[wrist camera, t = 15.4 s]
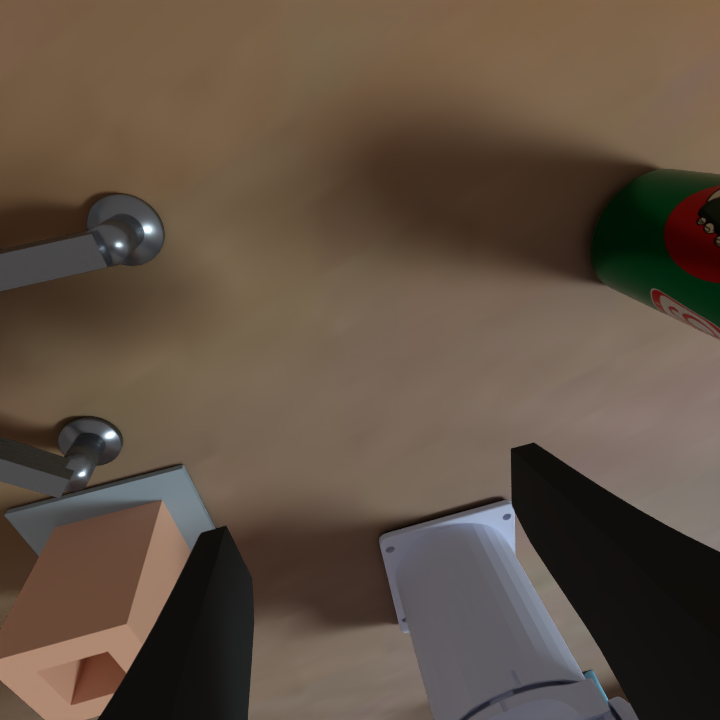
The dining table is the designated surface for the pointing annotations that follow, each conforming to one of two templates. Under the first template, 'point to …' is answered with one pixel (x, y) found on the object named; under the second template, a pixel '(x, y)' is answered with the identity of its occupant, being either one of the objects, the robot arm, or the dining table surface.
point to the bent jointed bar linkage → (56, 260)
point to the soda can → (665, 245)
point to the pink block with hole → (90, 609)
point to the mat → (116, 506)
